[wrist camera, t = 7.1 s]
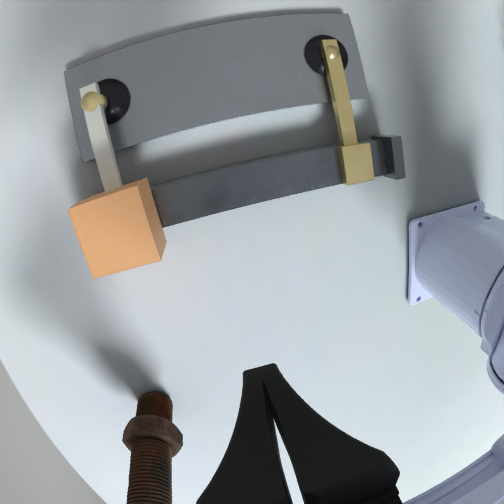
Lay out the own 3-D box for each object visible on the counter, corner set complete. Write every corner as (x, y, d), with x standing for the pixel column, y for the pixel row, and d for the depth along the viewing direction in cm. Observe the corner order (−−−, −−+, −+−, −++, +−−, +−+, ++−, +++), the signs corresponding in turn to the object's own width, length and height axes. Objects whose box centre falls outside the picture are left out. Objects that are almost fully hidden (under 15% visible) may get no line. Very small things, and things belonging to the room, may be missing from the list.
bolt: (115, 388, 24) (89, 539, 10) (160, 371, 24) (152, 540, 10) (151, 424, 26) (147, 561, 13) (195, 410, 26) (207, 558, 13)
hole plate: (344, 16, 16) (349, 13, 16) (364, 98, 19) (370, 97, 18) (67, 73, 15) (63, 71, 15) (86, 161, 18) (82, 162, 17)
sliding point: (125, 77, 15) (108, 64, 12) (167, 237, 19) (160, 260, 16) (67, 100, 15) (39, 95, 12) (110, 253, 19) (93, 278, 15)
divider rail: (362, 44, 17) (380, 36, 15) (385, 172, 21) (405, 177, 19) (62, 108, 16) (45, 106, 14) (100, 242, 20) (89, 256, 17)
